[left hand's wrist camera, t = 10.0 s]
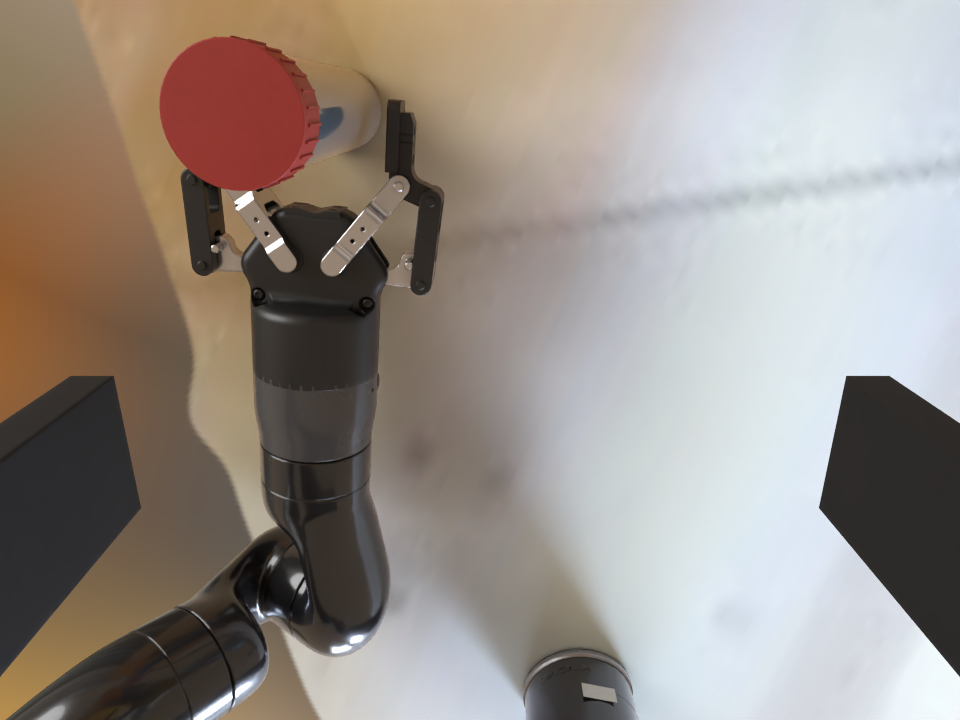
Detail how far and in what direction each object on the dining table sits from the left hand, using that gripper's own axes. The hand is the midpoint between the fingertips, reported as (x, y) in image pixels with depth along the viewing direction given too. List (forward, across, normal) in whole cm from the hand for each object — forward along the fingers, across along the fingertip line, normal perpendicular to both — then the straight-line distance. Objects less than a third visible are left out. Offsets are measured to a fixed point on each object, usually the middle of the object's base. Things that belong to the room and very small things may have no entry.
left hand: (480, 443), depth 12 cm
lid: (+15, +9, -5) cm, 18 cm away
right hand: (+28, +9, -6) cm, 30 cm away
